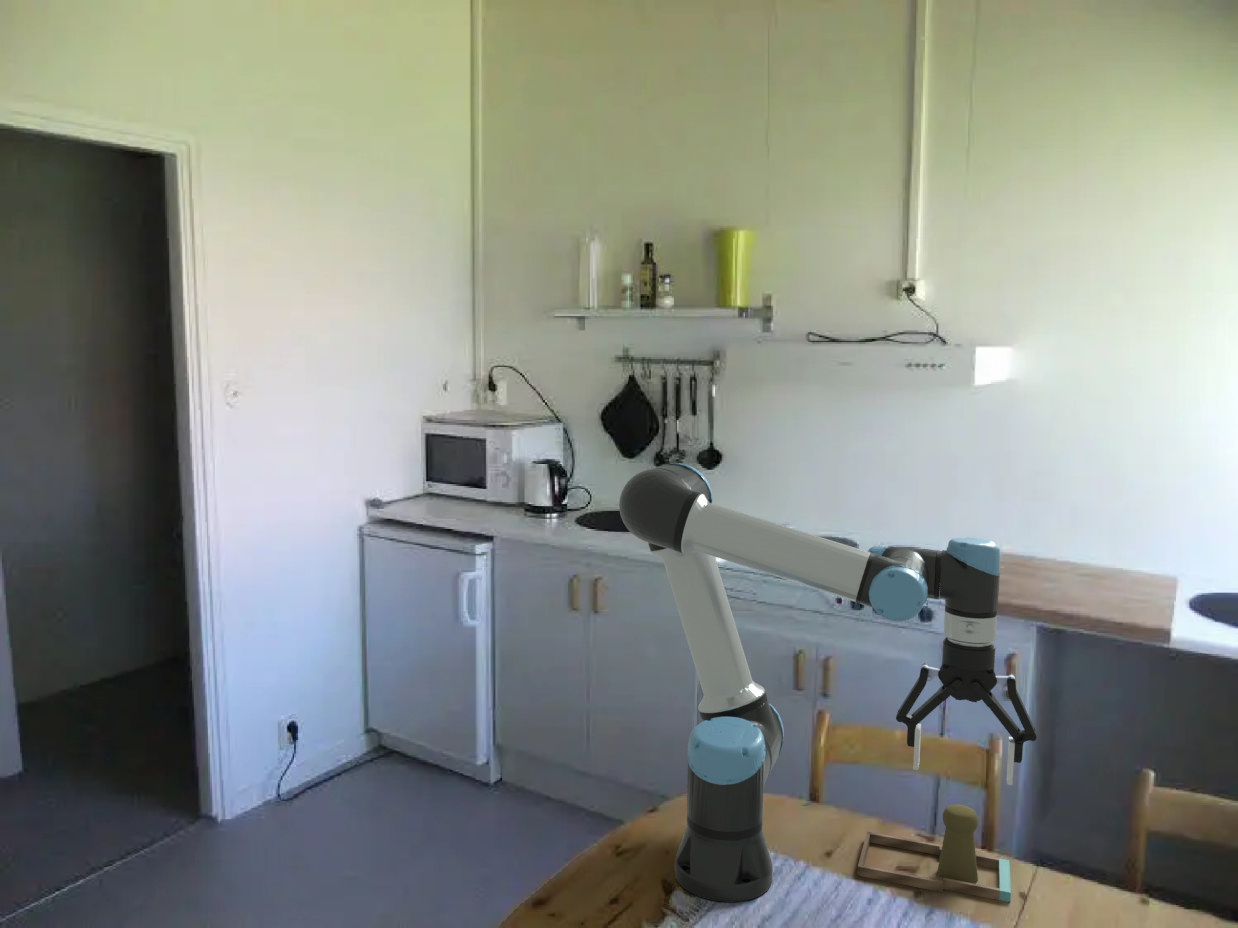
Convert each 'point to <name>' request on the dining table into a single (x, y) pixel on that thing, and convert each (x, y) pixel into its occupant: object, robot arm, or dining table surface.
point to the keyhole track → (938, 883)
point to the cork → (959, 845)
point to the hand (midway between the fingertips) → (962, 774)
